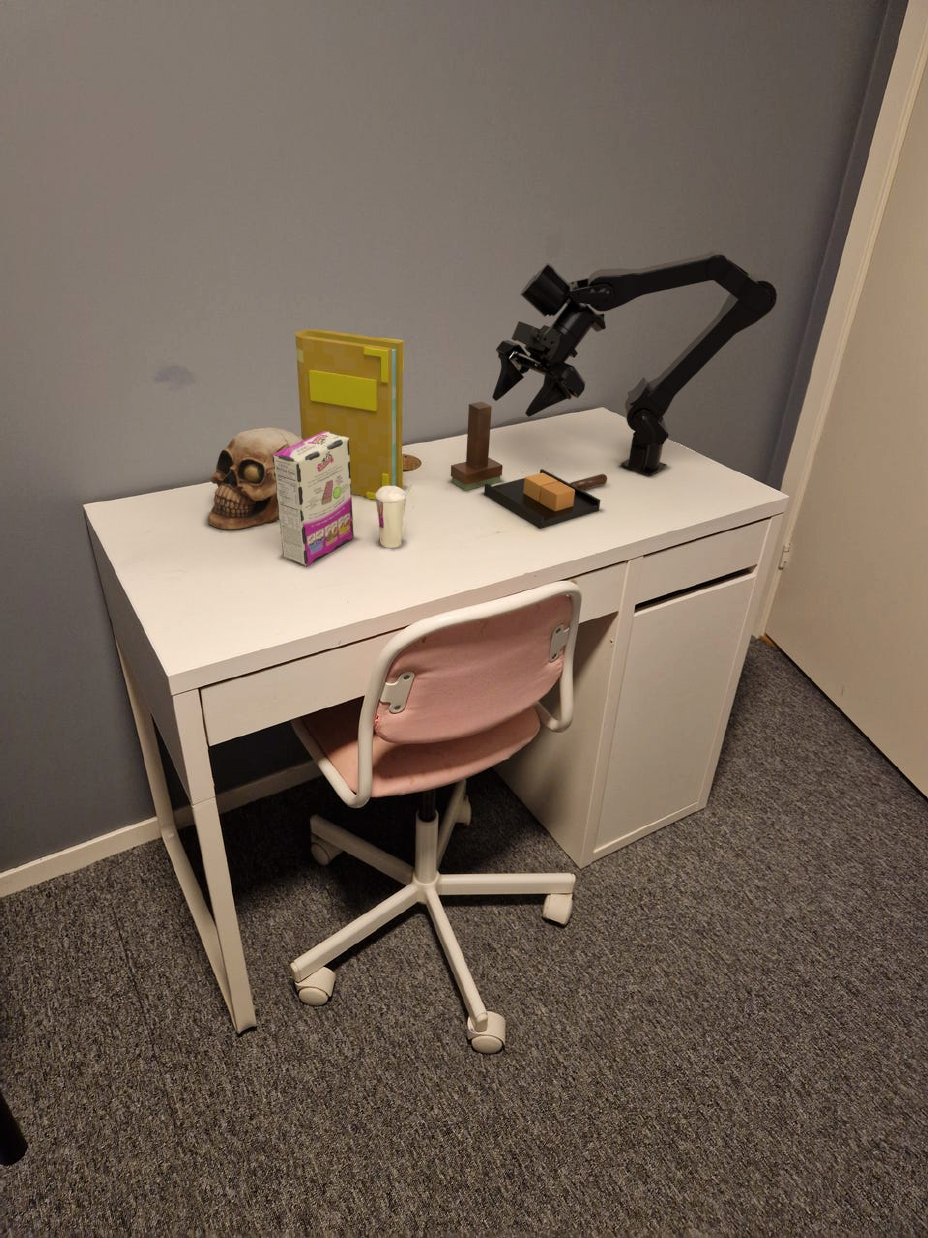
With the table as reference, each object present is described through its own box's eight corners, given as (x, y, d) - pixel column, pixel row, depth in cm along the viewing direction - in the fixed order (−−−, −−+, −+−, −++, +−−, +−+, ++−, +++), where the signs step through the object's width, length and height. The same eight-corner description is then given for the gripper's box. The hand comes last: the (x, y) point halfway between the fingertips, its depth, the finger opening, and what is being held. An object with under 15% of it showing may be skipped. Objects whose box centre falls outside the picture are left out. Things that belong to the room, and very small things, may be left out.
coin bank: (202, 528, 131) (197, 443, 125) (225, 492, 146) (221, 415, 140) (305, 534, 132) (305, 449, 126) (317, 498, 148) (317, 421, 142)
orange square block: (557, 497, 144) (559, 481, 142) (573, 506, 141) (575, 489, 140) (539, 502, 142) (541, 486, 140) (555, 511, 139) (557, 494, 138)
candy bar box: (329, 530, 133) (324, 429, 124) (354, 538, 131) (351, 437, 122) (280, 557, 125) (271, 452, 116) (306, 567, 123) (299, 461, 114)
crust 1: (540, 488, 147) (542, 472, 145) (556, 496, 144) (558, 480, 143) (523, 493, 145) (524, 476, 143) (538, 502, 142) (539, 485, 141)
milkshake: (406, 552, 128) (407, 491, 122) (372, 548, 129) (371, 486, 123) (414, 539, 132) (415, 479, 126) (380, 534, 132) (380, 474, 127)
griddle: (576, 469, 158) (578, 459, 156) (635, 499, 148) (637, 488, 147) (483, 494, 147) (484, 483, 145) (540, 528, 137) (541, 517, 135)
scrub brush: (486, 472, 154) (490, 397, 147) (501, 481, 151) (507, 405, 144) (450, 482, 150) (453, 404, 143) (465, 491, 147) (469, 412, 140)
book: (403, 486, 148) (404, 340, 134) (387, 502, 142) (387, 351, 129) (315, 470, 152) (307, 326, 138) (297, 484, 147) (287, 336, 133)
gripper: (508, 291, 147) (453, 364, 148) (580, 316, 135) (521, 395, 135) (538, 333, 156) (487, 401, 156) (609, 359, 143) (553, 434, 144)
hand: (510, 406), depth 148 cm, fingers open, 9 cm apart
